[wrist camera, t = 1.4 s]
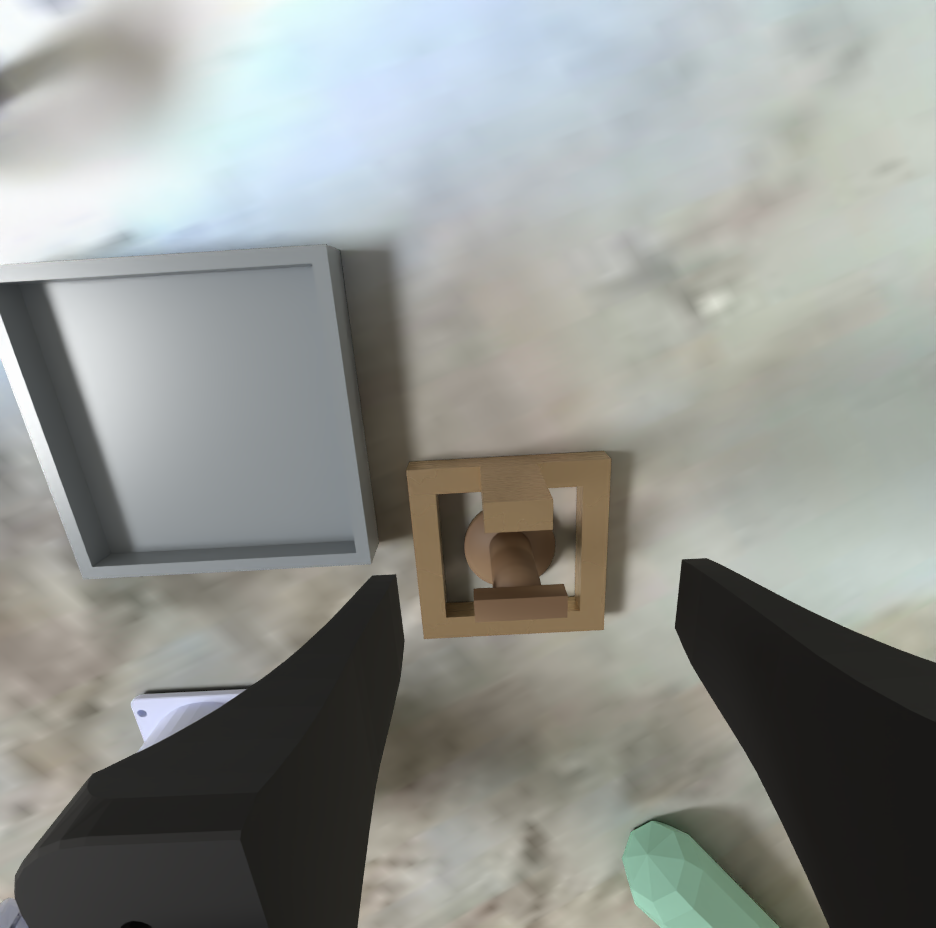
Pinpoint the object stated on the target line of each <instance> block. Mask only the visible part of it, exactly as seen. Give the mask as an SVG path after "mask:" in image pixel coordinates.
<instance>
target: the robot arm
mask: <svg viewBox="0 0 936 928" xmlns="http://www.w3.org/2000/svg"><path fill="white" fill-rule="evenodd" d="M675 629H676V631H677V634H678V636H679V638H680V641H681V643H682V645H683V648H684V650H685V652H686V654H687V656H688V658H689V660H690V663H691V665H692V666H693V668H694V670H695V671H696V673H697V675H698V676H699V678H700V680H701V681H702V683H703V685H704V686H705V688H706V690H707V691H708V693H709V694H710V696H711V698H712V699H713V701H714V702H715V704H716V706H717V707H718V709H719V710H720V712H721V714H722V715H723V717H724V719H725V720H726V722H727V723H728V725H729V727H730V728H731V730H732V731H733V733H734V735H735V736H736V738H737V739H738V741H739V743H740V744H741V746H742V747H743V749H744V751H745V752H746V754H747V756H748V758H749V759H750V761H751V763H752V765H753V766H754V768H755V770H756V772H757V774H758V776H759V778H760V780H761V782H762V784H763V786H764V788H765V790H766V792H767V794H768V796H769V798H770V800H771V802H772V804H773V806H774V808H775V810H776V812H777V814H778V816H779V818H780V820H781V822H782V824H783V826H784V828H785V830H786V832H787V835H788V837H789V839H790V841H791V843H792V845H793V847H794V849H795V852H796V854H797V856H798V858H799V860H800V862H801V864H802V866H803V869H804V871H805V873H806V875H807V877H808V880H809V882H810V884H811V886H812V889H813V891H814V893H815V895H816V898H817V900H818V902H819V904H820V907H821V909H822V911H823V914H824V916H825V918H826V920H827V923H828V925H829V927H830V928H936V663H935V662H932V661H929V660H926V659H923V658H920V657H918V656H915V655H912V654H910V653H907V652H904V651H901V650H899V649H896V648H894V647H891V646H889V645H886V644H884V643H881V642H879V641H876V640H874V639H872V638H869V637H867V636H864V635H862V634H859V633H857V632H855V631H852V630H850V629H848V628H845V627H843V626H841V625H839V624H837V623H835V622H832V621H830V620H828V619H826V618H824V617H822V616H820V615H818V614H815V613H813V612H811V611H809V610H807V609H805V608H803V607H801V606H799V605H797V604H795V603H793V602H791V601H789V600H787V599H785V598H783V597H781V596H780V595H778V594H776V593H774V592H772V591H770V590H768V589H766V588H764V587H762V586H761V585H759V584H757V583H755V582H753V581H751V580H749V579H747V578H746V577H744V576H742V575H740V574H738V573H736V572H734V571H732V570H730V569H728V568H726V567H725V566H723V565H720V564H718V563H716V562H714V561H712V560H709V559H707V558H702V559H683V560H682V564H681V574H680V583H679V593H678V602H677V612H676V622H675ZM403 650H404V633H403V625H402V617H401V610H400V602H399V594H398V586H397V578H396V574H395V575H375V576H371V578H370V579H369V580H368V581H367V582H366V583H365V584H364V585H363V586H362V587H361V588H360V589H359V590H358V591H357V592H356V593H355V595H354V596H353V597H352V598H351V599H350V600H349V601H348V602H347V603H346V604H345V605H344V606H343V607H342V608H341V609H340V611H339V612H338V613H337V614H336V615H335V616H334V617H333V618H332V619H331V620H330V621H329V622H328V623H327V624H326V625H325V626H324V627H323V628H322V629H321V630H319V631H318V632H317V633H316V634H315V635H314V636H313V637H312V638H311V639H310V640H309V641H308V642H307V643H305V644H304V645H303V646H302V647H301V648H300V649H299V650H298V651H297V652H295V653H294V654H293V655H292V656H291V657H289V658H288V659H287V660H286V661H285V662H283V663H282V664H281V665H279V666H278V667H277V668H275V669H274V670H273V671H272V672H270V673H269V674H268V675H266V676H265V677H264V678H262V679H261V680H260V681H258V682H257V683H255V684H254V685H252V686H251V687H249V688H248V689H238V690H217V691H197V692H177V693H157V694H140V695H137V696H136V697H135V698H134V699H133V700H132V702H131V707H132V710H133V713H134V715H135V718H136V721H137V723H138V726H139V729H140V731H141V734H142V737H143V739H144V744H143V745H142V747H141V748H140V749H139V751H138V752H137V753H135V754H133V755H131V756H129V757H127V758H125V759H123V760H121V761H119V762H117V763H115V764H113V765H111V766H109V767H107V768H105V769H102V770H100V771H98V772H96V773H94V774H92V775H91V776H90V778H89V779H88V780H87V781H86V782H85V784H84V785H83V786H82V787H81V789H80V790H79V791H78V792H77V794H76V795H75V796H74V797H73V799H72V800H71V801H70V802H69V804H68V805H67V806H66V807H65V809H64V810H63V811H62V813H61V814H60V815H59V816H58V818H57V819H56V820H55V821H54V823H53V824H52V825H51V826H50V828H49V829H48V830H47V831H46V833H45V834H44V835H43V836H42V838H41V839H40V840H39V841H38V843H37V844H36V845H35V846H34V848H33V849H32V850H31V852H30V853H29V854H28V855H27V857H26V858H25V859H24V860H23V862H22V864H21V866H20V867H19V869H18V871H17V873H16V875H15V889H14V894H15V899H13V898H7V899H5V900H3V901H2V902H1V903H0V928H357V927H358V918H359V909H360V901H361V892H362V884H363V876H364V868H365V861H366V853H367V845H368V837H369V830H370V823H371V816H372V809H373V802H374V795H375V788H376V783H377V778H378V772H379V767H380V763H381V759H382V755H383V750H384V746H385V742H386V738H387V734H388V729H389V725H390V721H391V717H392V713H393V708H394V704H395V700H396V695H397V691H398V687H399V682H400V677H401V669H402V660H403Z"/></svg>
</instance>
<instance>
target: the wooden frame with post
mask: <svg viewBox="0 0 936 928" xmlns="http://www.w3.org/2000/svg"><path fill="white" fill-rule="evenodd" d="M406 474H407V483H408V493H409V502H410V511H411V521H412V530H413V540H414V549H415V558H416V568H417V577H418V587H419V596H420V606H421V615H422V624H423V634H424V639H432V638H452V637H471V636H491V635H511V634H531V633H551V632H570V631H590V630H604V610H605V588H606V565H607V543H608V521H609V498H610V476H611V458H610V457H609V456H608V455H607V454H606V453H605V452H604V451H594V452H576V453H558V454H540V455H523V456H505V457H487V458H469V459H451V460H433V461H415V462H409V464H408V467H407V470H406ZM559 487H577V505H576V555H575V596H572V597H568V611H567V618H552V619H533V620H513V621H493V622H475V611H474V602H456V603H447V596H446V584H445V573H444V561H443V549H442V537H441V525H440V513H439V501H438V494H449V493H467V492H481V495H482V507H483V519H484V531H485V533H500V532H518V531H537V530H553V498H552V496H551V494H550V492H549V489H548V488H559Z"/></svg>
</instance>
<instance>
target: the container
mask: <svg viewBox="0 0 936 928" xmlns="http://www.w3.org/2000/svg"><path fill="white" fill-rule="evenodd" d="M622 860H623V864H624V867H625V871H626V874H627V878H628V882H629V885H630V889H631V892H632V895H633V899H634V902H635V904H636V905H637V906H638V907H639V908H640V909H641V910H642V911H643V912H644V913H645V914H647V915H648V916H649V917H650V918H651V919H652V920H653V921H654V922H655V923H656V924H658V925H659V926H660V927H661V928H780V927H779V926H778V925H777V924H776V923H775V922H774V921H773V920H772V919H771V918H770V917H769V916H768V915H767V914H766V913H765V912H764V911H763V910H762V909H761V908H760V907H759V906H758V905H757V904H756V903H755V902H754V901H753V900H752V899H751V898H750V897H749V896H748V895H747V894H746V893H745V892H744V891H743V890H742V889H741V888H740V887H739V886H738V885H737V884H736V883H735V882H734V880H733V879H732V878H731V877H730V876H729V875H728V874H727V873H726V872H725V871H724V870H723V869H722V868H721V867H720V866H719V865H718V864H717V863H716V862H715V861H714V860H713V859H712V858H711V857H710V856H709V855H708V854H707V853H706V852H705V851H704V850H703V849H702V848H701V847H700V846H699V845H698V844H697V843H696V842H695V841H694V840H693V839H692V838H691V837H690V836H689V835H688V834H686V833H684V832H682V831H680V830H678V829H676V828H674V827H672V826H669V825H667V824H665V823H661V822H658V821H650V822H648V823H647V824H645V825H643V826H641V827H639V828H637V829H635V830H634V831H632V832H631V834H630V837H629V839H628V842H627V845H626V848H625V851H624V854H623V857H622Z"/></svg>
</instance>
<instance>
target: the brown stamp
mask: <svg viewBox="0 0 936 928" xmlns="http://www.w3.org/2000/svg"><path fill="white" fill-rule="evenodd" d="M464 551H465V557H466V560H467V562H468V565H469V566H470V568H471V569H472V571H473V572H474V573H475V574H476V575H477V576H478V577H479V578H481V579H482V580H484V581H486V582H488V583H490V584H493V588H477V589H474V611H475V622H493V621H513V620H533V619H552V618H567V611H568V595H567V592H566V590H565V587H564V584H554V585H541V582H540V578H539V576H541V575H542V574H543V573H544V572H545V571H546V569H547V568H548V567H549V565H550V563H551V562H552V559H553V557H554V553H555V538H554V534H553V532H552V530H537V531H518V532H500V533H485V531H484V519H483V511H481V512H480V513H479V514H478V515H476V516H475V518H474V519H473V520H472V521H471V523H470V524H469V526H468V529H467V531H466V534H465V542H464Z"/></svg>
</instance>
